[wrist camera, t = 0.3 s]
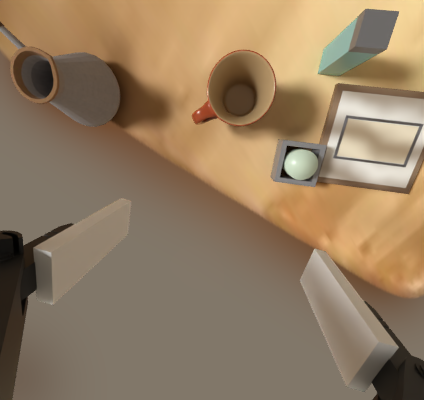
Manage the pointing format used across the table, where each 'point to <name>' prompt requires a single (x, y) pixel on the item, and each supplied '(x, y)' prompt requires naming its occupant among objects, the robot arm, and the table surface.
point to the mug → (238, 90)
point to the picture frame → (373, 138)
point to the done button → (300, 164)
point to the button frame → (279, 158)
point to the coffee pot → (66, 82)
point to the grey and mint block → (358, 41)
